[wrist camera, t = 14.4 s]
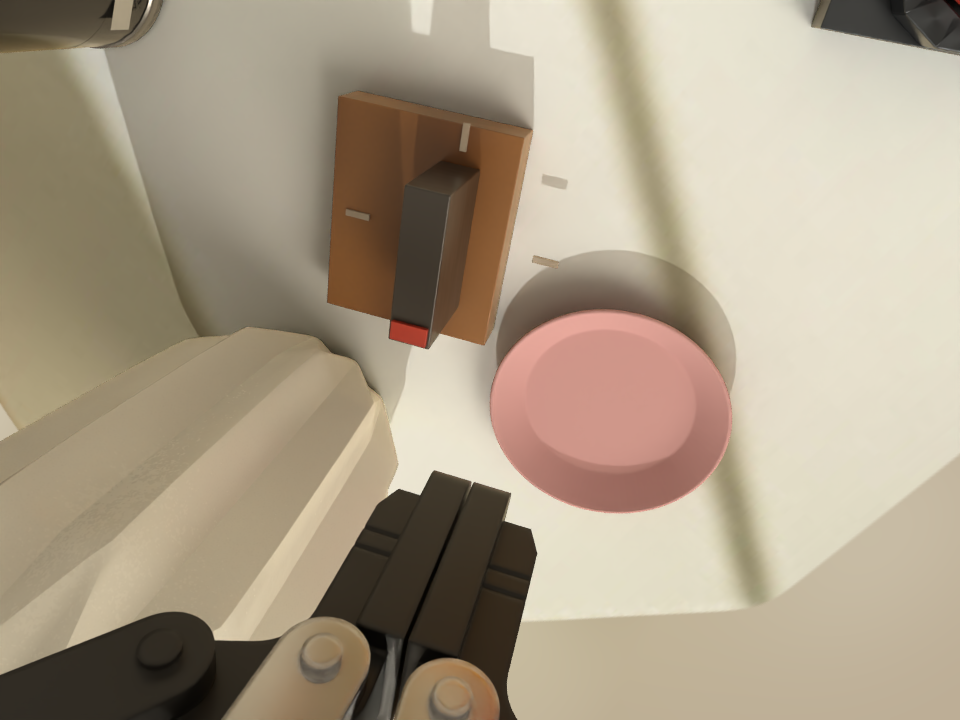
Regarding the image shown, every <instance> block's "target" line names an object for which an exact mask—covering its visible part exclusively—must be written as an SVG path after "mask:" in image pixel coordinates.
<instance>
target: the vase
mask: <svg viewBox="0 0 960 720" xmlns="http://www.w3.org/2000/svg"><path fill="white" fill-rule="evenodd" d="M397 467H398V460H397V455H396V450H395V446H394V442H393V437H392V433H391V429H390V425H389V421H388V417H387V413H386V409H385V406H384V403H383V400H382V398H381V397H380V395H379V394H377V393H376V392H375V391H374V390H372V389H371V388H370V387H368V385H367V383H366V381H365V378H364V376H363V373H362V371H361V368H360V367H359V365H358V363H357V362H356V361H355V360H353V359H351V358H348V357H344V356H340V355H336V354H333V353H331V352H330V350H329V349H328V348H327V347H326V346H325V345H324V344H323V342H322V341H321V340H320V339H318V338H317V337H314V336H310V335H304V334H298V333H292V332H285V331H278V330H271V329H264V328H256V327H246V328H243V329H241V330H239V331H237V332H235V333H233V334H232V335H224V336H208V337H196V338H188V339H186V340H183V341H181V342H179V343H177V344H175V345H173V346H171V347H169V348H167V349H166V350H164V351H162V352H160V353H158V354H156V355H154V356H152V357H150V358H148V359H146V360H144V361H143V362H141V363H139V364H137V365H135V366H133V367H131V368H129V369H127V370H126V371H124V372H122V373H120V374H119V375H117V376H115V377H113V378H112V379H110V380H108V381H106V382H104V383H103V384H101V385H99V386H97V387H96V388H94V389H92V390H90V391H88V392H87V393H85V394H83V395H81V396H80V397H78V398H76V399H74V400H73V401H71V402H69V403H67V404H65V405H64V406H62V407H60V408H58V409H57V410H55V411H53V412H51V413H50V414H48V415H46V416H44V417H42V418H41V419H39V420H37V421H35V422H34V423H32V424H30V425H28V426H26V427H25V428H23V429H21V430H19V431H18V432H16V433H14V434H12V435H11V436H9V437H7V438H5V439H4V440H2V441H0V675H1V674H3V673H6V672H9V671H11V670H14V669H16V668H19V667H21V666H24V665H26V664H29V663H31V662H34V661H36V660H39V659H41V658H44V657H46V656H49V655H51V654H54V653H57V652H59V651H62V650H64V649H67V648H69V647H72V646H74V645H77V644H79V643H82V642H84V641H87V640H89V639H92V638H94V637H97V636H100V635H102V634H105V633H107V632H110V631H112V630H115V629H117V628H120V627H122V626H125V625H127V624H130V623H132V622H135V621H137V620H140V619H142V618H145V617H148V616H151V615H154V614H158V613H163V612H173V611H175V612H185V613H189V614H192V615H195V616H197V617H199V618H200V619H202V620H203V621H204V622H205V623H206V624H207V625H208V626H209V627H210V629H211V630H212V632H213V635H214V639H215V640H227V641H263V640H269V639H274V638H277V637H280V636H282V635H283V634H284V633H285V632H286V631H287V630H289V629H290V628H291V627H293V626H294V625H296V624H297V623H299V622H302V621H304V620H307V619H309V618H310V616H311V615H312V614H313V612H314V611H315V610H316V608H317V606H318V604H319V603H320V601H321V599H322V598H323V596H324V594H325V593H326V591H327V589H328V587H329V586H330V584H331V582H332V581H333V579H334V577H335V575H336V574H337V572H338V570H339V569H340V567H341V565H342V564H343V562H344V560H345V558H346V557H347V555H348V553H349V552H350V550H351V548H352V546H354V545H355V541H356V540H357V538H358V536H359V535H360V533H361V531H362V529H364V528H365V524H366V523H367V521H368V519H369V518H370V516H371V514H372V512H373V511H374V509H375V507H376V506H377V504H378V503H379V502H381V501H382V500H384V499H385V498H386V497H388V489H389V486H390V484H391V482H392V480H393V477H394V475H395V473H396V470H397Z"/></svg>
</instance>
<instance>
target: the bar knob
mask: <svg viewBox="0 0 960 720" xmlns="http://www.w3.org/2000/svg"><path fill="white" fill-rule="evenodd" d="M479 176H480V170H479V169H475V168H470V167H466V166H462V165H458V164H453V163H449V162H445V161H440V162H438V163H437V164H435V165H434V166H432V167H431V168H429V169H428V170H426V171H425V172H423V173H422V174H420V175H419V176H417V177H416V178H415V179H413V180H412V181H410V182H409V183H407V184H406V185H405V187H404V196H403V206H402V215H401V225H400V234H399V244H398V253H397V262H396V272H395V281H394V291H393V300H392V310H391V319H390V329H389V339H392V340H395V341H399V342H403V343H406V344H410V345H414V346H417V347H421V348H425V349H429V348H430V347H431V345H432V344H433V342H434V341H435V340H436V338H437V337H438V335H439V334H440V332H441V331H442V330H443V328H444V327H445V325H446V324H447V322H448V321H449V320H450V318H451V317H452V315H453V314H454V312H455V311H456V310H457V308H458V306H459V300H460V293H461V287H462V281H463V275H464V269H465V263H466V256H467V250H468V244H469V238H470V232H471V226H472V219H473V213H474V207H475V201H476V195H477V189H478V182H479Z"/></svg>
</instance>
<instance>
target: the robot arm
mask: <svg viewBox="0 0 960 720" xmlns="http://www.w3.org/2000/svg"><path fill="white" fill-rule="evenodd" d="M162 3H163V0H0V53H12V52H26V51H40V50H54V49H71V48H85V47H90V48H113V47H122V46H126V45H129V44H131V43H133V42H135V41H137V40H139V39H140V38H141V37H143V36H144V35H145V34H146V33H147V32H148V31H149V29H150V28H151V27H152V26H153V24H154V22H155V21H156V19H157V17H158V14H159V12H160V9H161V6H162ZM510 497H511V493H509V492H505V491H502V490H499V489H495V488H492V487H489V486H485V485H482V484H479V483H475V482H474V483H473V485H472V487H471V481H468V480H465V479H461V478H458V477H455V476H452V475H448V474H445V473H442V472H438V471H433V472H432V474H431V476H430V477H429V479H428V481H427V483H426V485H425V487H424V489H423V491H422V493H421V495H417V494H414V493H411V492H407V491H404V490H401V489H398V490H396V491H395V492H394V493H392V494H391V495H389V496H388V497H386V498H385V499H384V500H382V501H381V502H379V503H378V504H377V506H376V507H375V509H374V511H373V512H372V514H371V516H370V518H369V519H368V521H367V523H366V524H365V528H364V529H362V531H361V533H360V535H359V536H358V538H357V540H356V541H355V545H354V546H352V548H351V550H350V552H349V553H348V555H347V557H346V558H345V560H344V562H343V564H342V565H341V567H340V569H339V570H338V572H337V574H336V575H335V577H334V579H333V581H332V582H331V584H330V586H329V587H328V589H327V591H326V593H325V594H324V596H323V598H322V599H321V601H320V603H319V604H318V606H317V608H316V610H315V611H314V612H313V614H312V615H311V616H310V618H309V619H307V620H304V621H302V622H299V623H297V624H296V625H294V626H293V627H291V628H290V629H289V630H287V631H286V632H285V633H284V634H283V635H282V636H280V637H277V638H274V639H269V640H263V641H227V640H215V639H214V635H213V632H212V630H211V629H210V627H209V626H208V625H207V624H206V623H205V622H204V621H203V620H202V619H200V618H199V617H197V616H195V615H192V614H189V613H185V612H175V611H173V612H163V613H158V614H154V615H151V616H148V617H145V618H142V619H140V620H137V621H135V622H132V623H130V624H127V625H125V626H122V627H120V628H117V629H115V630H112V631H110V632H107V633H105V634H102V635H100V636H97V637H94V638H92V639H89V640H87V641H84V642H82V643H79V644H77V645H74V646H72V647H69V648H67V649H64V650H62V651H59V652H57V653H54V654H51V655H49V656H46V657H44V658H41V659H39V660H36V661H34V662H31V663H29V664H26V665H24V666H21V667H19V668H16V669H14V670H11V671H9V672H6V673H3V674H1V675H0V720H393V719H394V720H517V718H516V717H515V715H514V713H513V711H512V709H511V706H510V703H509V700H508V695H507V677H508V672H509V668H510V664H511V660H512V655H513V651H514V647H515V643H516V639H517V635H518V631H519V626H520V622H521V618H522V614H523V610H524V606H525V601H526V597H527V593H528V589H529V585H530V581H531V577H532V573H533V569H534V564H535V560H536V556H537V551H536V547H535V543H534V539H533V535H532V532H531V529H528V528H525V527H522V526H518V525H515V524H512V523H509V522H505V517H506V513H507V509H508V505H509V501H510ZM394 716H395V717H394Z"/></svg>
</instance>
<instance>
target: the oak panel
mask: <svg viewBox="0 0 960 720" xmlns="http://www.w3.org/2000/svg"><path fill="white" fill-rule="evenodd" d="M532 134H533V130H531V129H526V128H522V127H517V126H513V125H508V124H504V123H499V122H495V121H491V120H486V119H482V118H477V117H473V116H468V115H464V114H459V113H455V112H450V111H446V110H442V109H437V108H433V107H428V106H424V105H419V104H415V103H410V102H406V101H402V100H397V99H393V98H388V97H384V96H379V95H375V94H370V93H366V92H362V91H355V92H351V93H348V94H344V95H340V96H339V97H338V113H337V132H336V150H335V168H334V186H333V205H332V223H331V241H330V259H329V278H328V296H327V303H330V304H334V305H337V306H341V307H345V308H348V309H352V310H356V311H359V312H363V313H367V314H370V315H374V316H378V317H381V318H385V319H389V320H390V319H391V310H392V300H393V291H394V281H395V272H396V262H397V253H398V244H399V234H400V225H401V215H402V206H403V196H404V187H405V185H406V184H407V183H409V182H410V181H412V180H413V179H415V178H416V177H417V176H419V175H420V174H422V173H423V172H425V171H426V170H428V169H429V168H431V167H432V166H434V165H435V164H437V163H438V162H440V161H445V162H449V163H453V164H458V165H462V166H466V167H470V168H475V169H479V170H480V176H479V182H478V189H477V195H476V201H475V207H474V213H473V219H472V226H471V232H470V238H469V244H468V250H467V256H466V263H465V269H464V275H463V281H462V287H461V293H460V300H459V306H458V308H457V310H456V311H455V312H454V314H453V315H452V317H451V318H450V320H449V321H448V322H447V324H446V325H445V327H444V328H443V330H442V331H441V332H440V334H444V335H448V336H451V337H455V338H459V339H462V340H466V341H470V342H473V343H477V344H481V345H485V343H486V341H487V339H488V337H489V336H490V334H491V332H492V330H493V328H494V324H495V319H496V314H497V309H498V304H499V299H500V294H501V289H502V284H503V279H504V274H505V269H506V264H507V259H508V254H509V249H510V244H511V239H512V234H513V229H514V224H515V219H516V214H517V209H518V204H519V199H520V194H521V189H522V184H523V179H524V174H525V169H526V164H527V159H528V154H529V149H530V144H531V139H532ZM532 262H533V263H537V264H541V265H545V266H549V267H553V268H558V264H559V262H558V261H554V260H550V259H546V258H542V257H538V256H533V260H532Z"/></svg>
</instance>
